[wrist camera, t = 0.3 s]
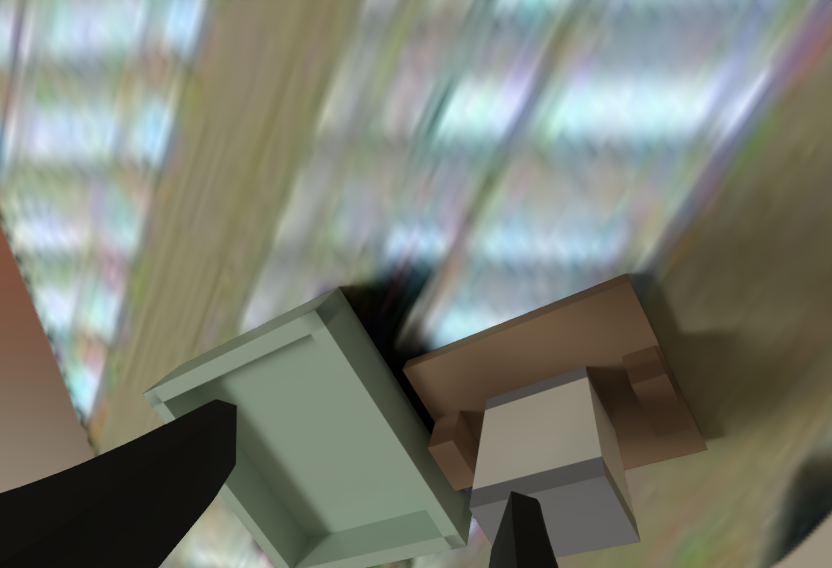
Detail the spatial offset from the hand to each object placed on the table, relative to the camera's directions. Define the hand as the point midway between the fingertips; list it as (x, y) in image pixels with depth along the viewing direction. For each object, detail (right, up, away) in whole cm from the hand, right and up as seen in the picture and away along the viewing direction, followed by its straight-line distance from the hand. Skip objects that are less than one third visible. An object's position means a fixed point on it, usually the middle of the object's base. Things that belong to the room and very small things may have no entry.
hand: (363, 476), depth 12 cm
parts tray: (-4, -3, +13) cm, 14 cm away
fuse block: (+7, 0, +9) cm, 11 cm away
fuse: (+7, 0, +8) cm, 11 cm away
